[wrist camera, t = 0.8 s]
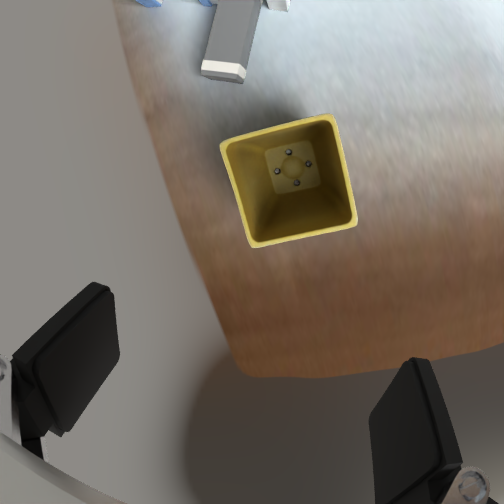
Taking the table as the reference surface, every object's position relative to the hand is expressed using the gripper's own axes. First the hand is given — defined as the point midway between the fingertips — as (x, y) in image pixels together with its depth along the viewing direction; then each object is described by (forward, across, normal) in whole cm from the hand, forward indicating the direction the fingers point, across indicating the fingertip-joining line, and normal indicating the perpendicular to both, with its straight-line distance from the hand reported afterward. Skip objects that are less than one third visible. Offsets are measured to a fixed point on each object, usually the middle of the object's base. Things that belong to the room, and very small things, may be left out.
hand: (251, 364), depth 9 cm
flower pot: (+25, 0, -2) cm, 25 cm away
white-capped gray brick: (+25, +8, -16) cm, 31 cm away
